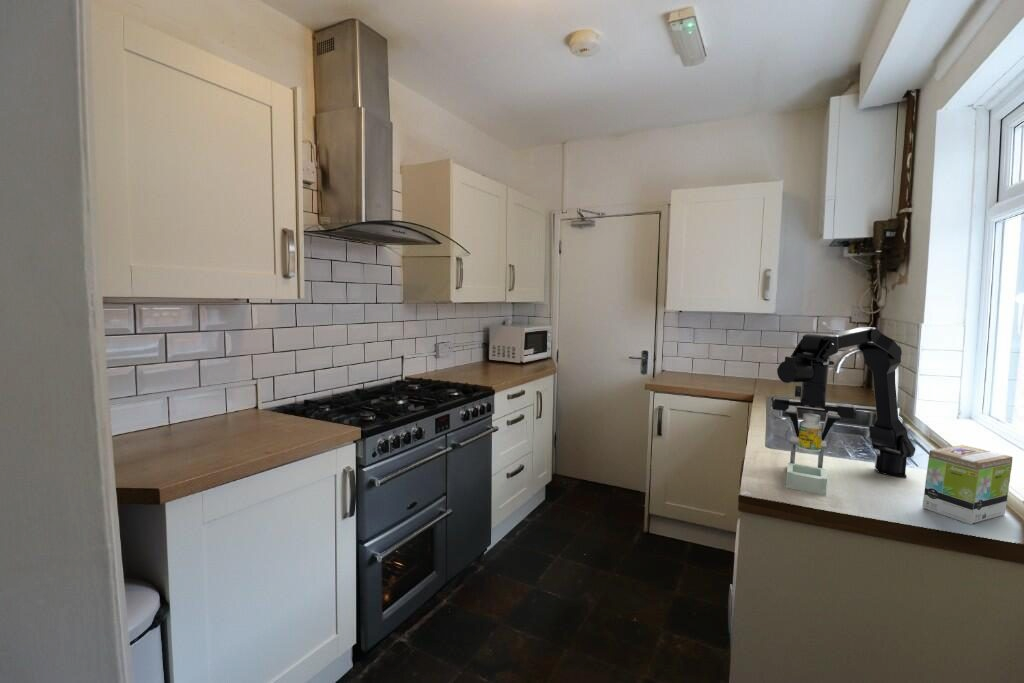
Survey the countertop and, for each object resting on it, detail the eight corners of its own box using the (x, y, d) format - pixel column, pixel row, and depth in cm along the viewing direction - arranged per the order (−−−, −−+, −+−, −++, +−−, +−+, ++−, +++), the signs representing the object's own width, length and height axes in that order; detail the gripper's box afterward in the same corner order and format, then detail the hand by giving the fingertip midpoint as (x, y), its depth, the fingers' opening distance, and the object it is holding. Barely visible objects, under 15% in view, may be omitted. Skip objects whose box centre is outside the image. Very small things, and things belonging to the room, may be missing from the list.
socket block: (823, 472, 140) (824, 459, 140) (826, 495, 123) (827, 480, 123) (788, 466, 145) (789, 453, 145) (785, 487, 128) (786, 473, 128)
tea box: (973, 526, 108) (980, 462, 106) (920, 508, 117) (926, 449, 116) (1007, 515, 114) (1014, 455, 112) (954, 499, 123) (960, 442, 122)
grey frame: (823, 469, 140) (825, 441, 140) (824, 475, 135) (826, 446, 135) (788, 463, 145) (790, 436, 144) (787, 468, 140) (789, 441, 139)
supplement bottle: (824, 450, 129) (827, 415, 128) (815, 454, 126) (818, 418, 125) (803, 445, 133) (806, 411, 132) (793, 448, 130) (796, 413, 129)
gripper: (854, 381, 130) (849, 437, 131) (775, 374, 139) (772, 426, 141) (858, 387, 120) (853, 447, 122) (774, 379, 130) (770, 435, 131)
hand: (810, 438), depth 129 cm, fingers closed on supplement bottle, 5 cm apart
